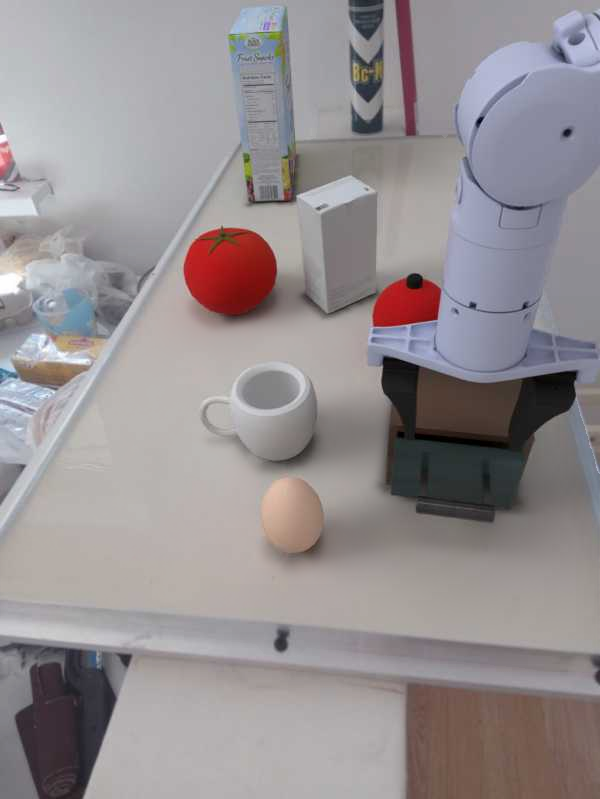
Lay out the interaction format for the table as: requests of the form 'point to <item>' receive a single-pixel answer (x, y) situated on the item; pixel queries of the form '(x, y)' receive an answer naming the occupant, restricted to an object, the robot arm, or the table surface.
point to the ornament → (407, 302)
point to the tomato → (230, 270)
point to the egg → (292, 515)
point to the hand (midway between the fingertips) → (461, 435)
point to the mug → (269, 410)
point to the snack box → (264, 101)
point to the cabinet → (459, 411)
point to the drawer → (456, 475)
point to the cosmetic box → (339, 242)
